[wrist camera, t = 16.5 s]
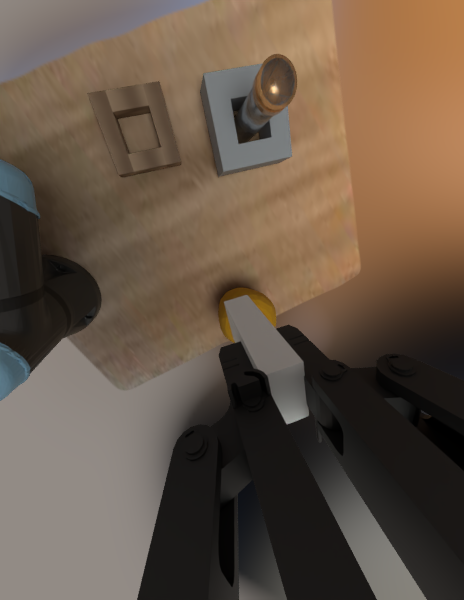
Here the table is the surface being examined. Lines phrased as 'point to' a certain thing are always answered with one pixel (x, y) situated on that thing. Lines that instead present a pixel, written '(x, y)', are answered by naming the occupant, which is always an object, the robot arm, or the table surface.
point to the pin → (266, 96)
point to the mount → (130, 104)
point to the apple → (259, 301)
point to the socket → (219, 115)
